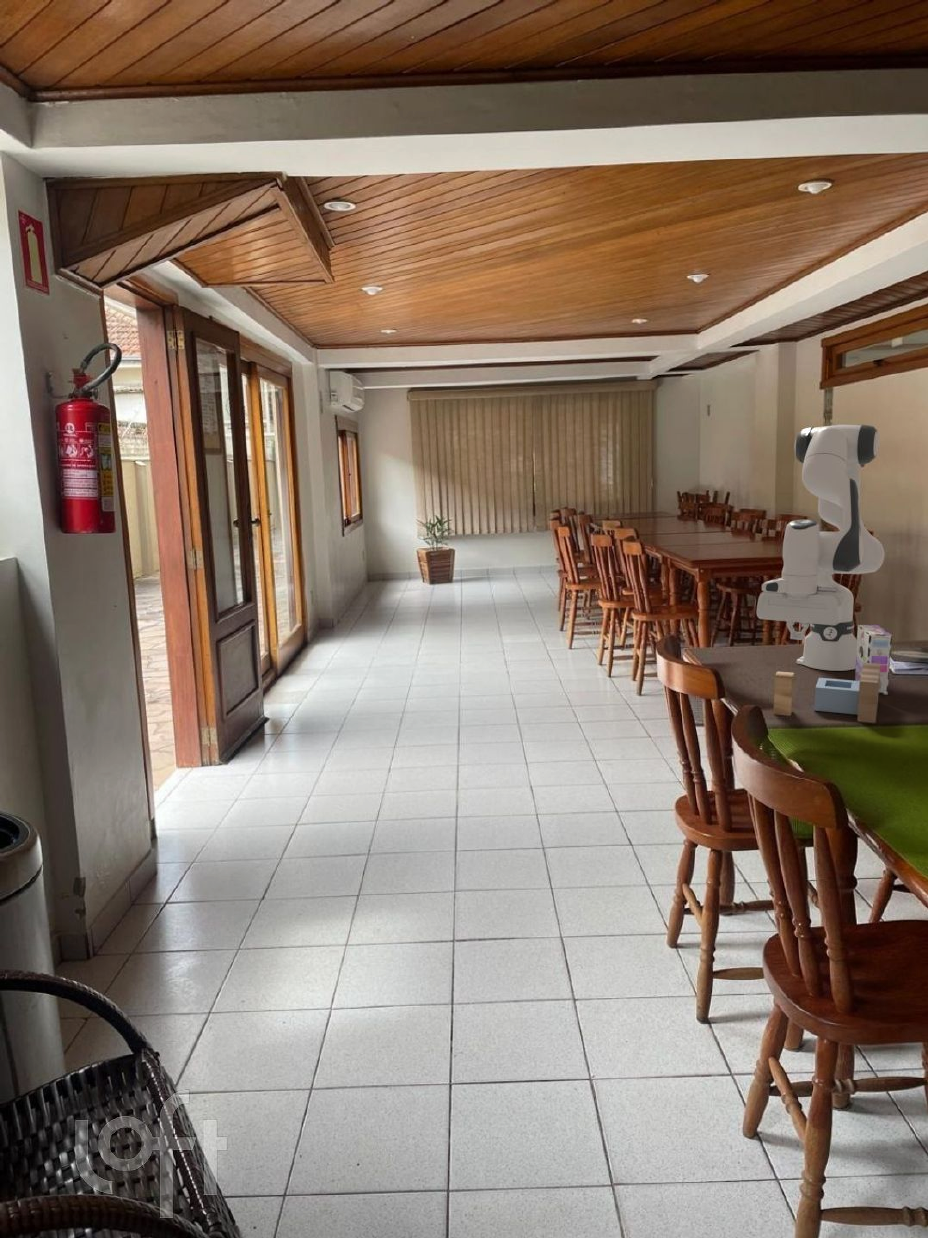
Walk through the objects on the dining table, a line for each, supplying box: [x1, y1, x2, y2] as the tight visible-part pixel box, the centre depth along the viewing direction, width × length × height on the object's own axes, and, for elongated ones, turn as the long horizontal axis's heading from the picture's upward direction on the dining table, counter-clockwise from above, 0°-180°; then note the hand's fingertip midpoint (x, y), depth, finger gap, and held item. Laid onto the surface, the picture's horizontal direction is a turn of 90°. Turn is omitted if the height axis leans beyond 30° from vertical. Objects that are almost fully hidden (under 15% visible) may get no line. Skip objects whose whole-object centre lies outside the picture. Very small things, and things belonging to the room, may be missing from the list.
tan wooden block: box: [772, 671, 795, 717], centre depth 224 cm, size 4×4×10 cm
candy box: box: [854, 624, 893, 696], centre depth 243 cm, size 14×6×16 cm, turn 168°
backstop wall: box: [856, 662, 880, 724], centre depth 223 cm, size 20×4×10 cm, turn 154°
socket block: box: [814, 677, 860, 716], centre depth 227 cm, size 10×10×6 cm
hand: (797, 639), depth 228 cm, fingers closed
